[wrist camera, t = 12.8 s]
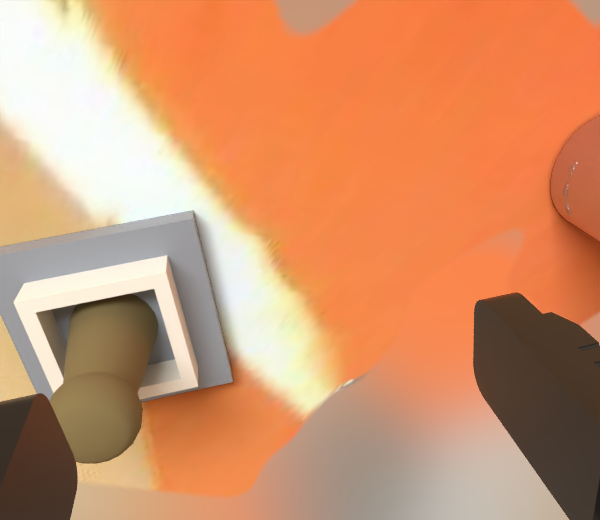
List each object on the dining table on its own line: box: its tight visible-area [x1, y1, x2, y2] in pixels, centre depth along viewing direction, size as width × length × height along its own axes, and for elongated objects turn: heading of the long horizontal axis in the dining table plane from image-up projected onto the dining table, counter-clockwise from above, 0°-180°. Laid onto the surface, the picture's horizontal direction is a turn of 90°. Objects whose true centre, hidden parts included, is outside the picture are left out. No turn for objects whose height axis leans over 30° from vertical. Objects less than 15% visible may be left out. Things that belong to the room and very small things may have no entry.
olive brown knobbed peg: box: [50, 294, 158, 463], centre depth 35 cm, size 6×6×11 cm
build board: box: [0, 211, 233, 402], centre depth 39 cm, size 14×14×4 cm
